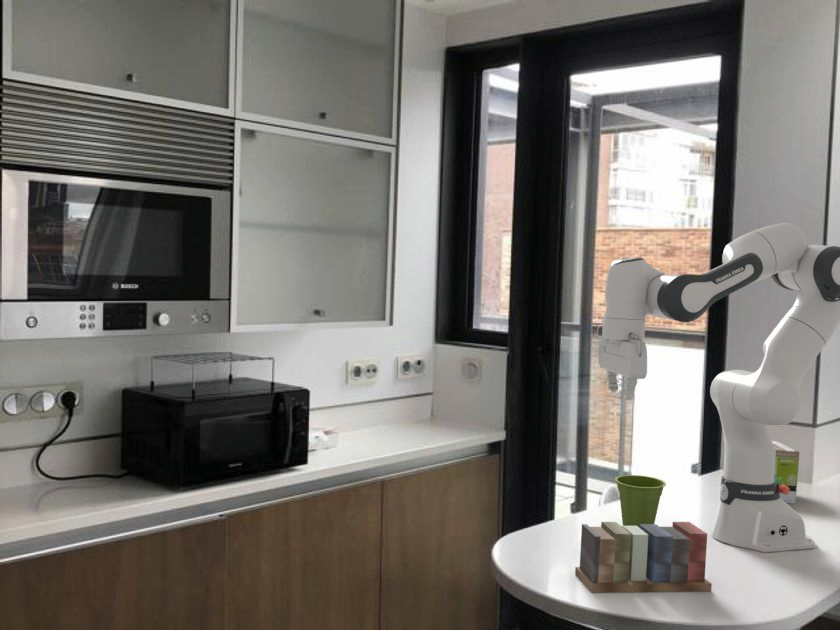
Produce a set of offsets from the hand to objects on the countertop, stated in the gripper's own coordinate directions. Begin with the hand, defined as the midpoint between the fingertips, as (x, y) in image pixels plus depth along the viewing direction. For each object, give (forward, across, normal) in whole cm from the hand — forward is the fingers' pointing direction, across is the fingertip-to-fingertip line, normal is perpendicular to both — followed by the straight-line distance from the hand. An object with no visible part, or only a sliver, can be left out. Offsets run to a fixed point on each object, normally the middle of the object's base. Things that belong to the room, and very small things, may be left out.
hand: (620, 394), depth 195 cm
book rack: (+34, -22, +2) cm, 41 cm away
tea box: (+34, +44, -62) cm, 83 cm away
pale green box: (+33, -22, +4) cm, 39 cm away
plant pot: (+34, +15, -12) cm, 39 cm away
